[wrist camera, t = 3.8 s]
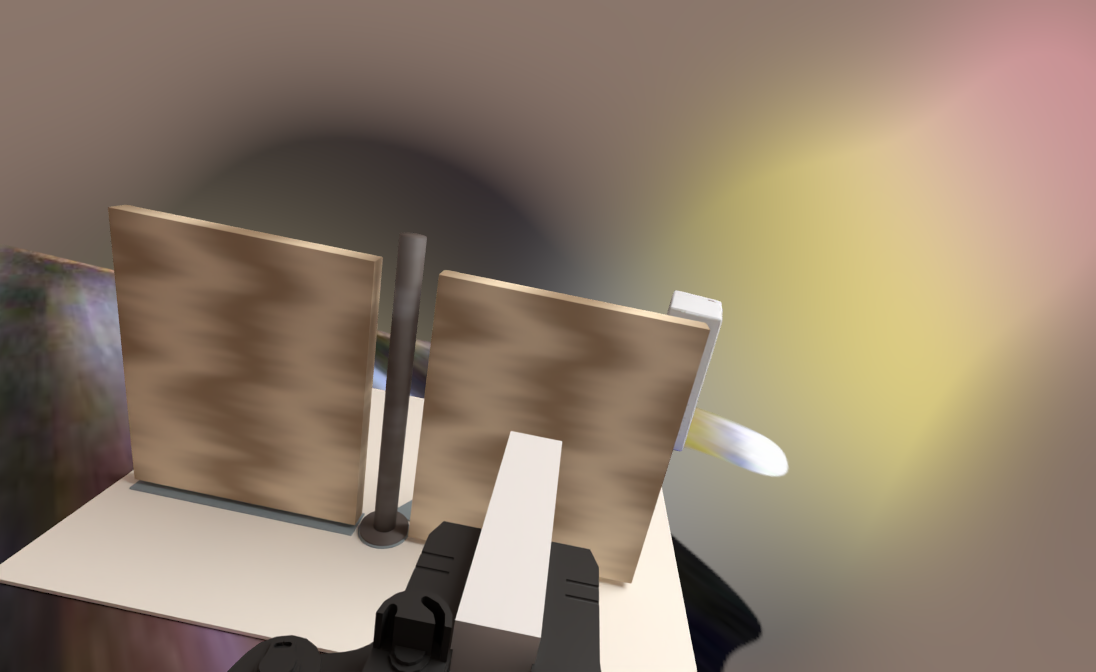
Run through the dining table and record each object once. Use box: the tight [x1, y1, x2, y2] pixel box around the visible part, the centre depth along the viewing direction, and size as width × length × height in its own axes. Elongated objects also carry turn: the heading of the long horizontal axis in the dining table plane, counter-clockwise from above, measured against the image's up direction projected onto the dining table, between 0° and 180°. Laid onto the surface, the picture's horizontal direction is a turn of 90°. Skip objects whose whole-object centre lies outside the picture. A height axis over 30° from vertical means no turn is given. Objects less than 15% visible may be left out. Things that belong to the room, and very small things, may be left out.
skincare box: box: [667, 291, 723, 451], centre depth 46 cm, size 6×4×12 cm
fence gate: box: [408, 270, 710, 584], centre depth 27 cm, size 12×1×15 cm, turn 85°
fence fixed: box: [108, 205, 427, 546], centre depth 28 cm, size 15×3×17 cm, turn 85°
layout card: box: [0, 388, 697, 672], centre depth 34 cm, size 32×23×1 cm
